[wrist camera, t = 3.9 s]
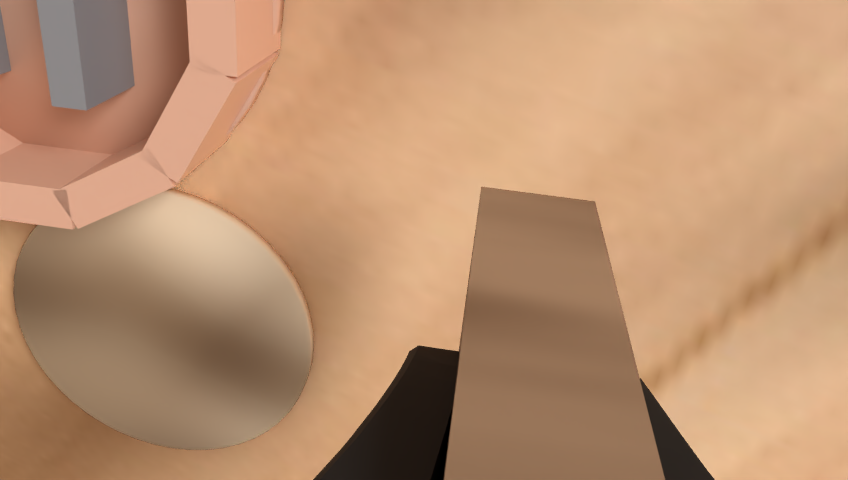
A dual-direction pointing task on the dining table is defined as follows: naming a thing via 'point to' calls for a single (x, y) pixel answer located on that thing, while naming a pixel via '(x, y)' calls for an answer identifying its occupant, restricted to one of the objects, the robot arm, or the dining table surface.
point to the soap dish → (121, 97)
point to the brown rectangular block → (545, 352)
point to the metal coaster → (167, 322)
